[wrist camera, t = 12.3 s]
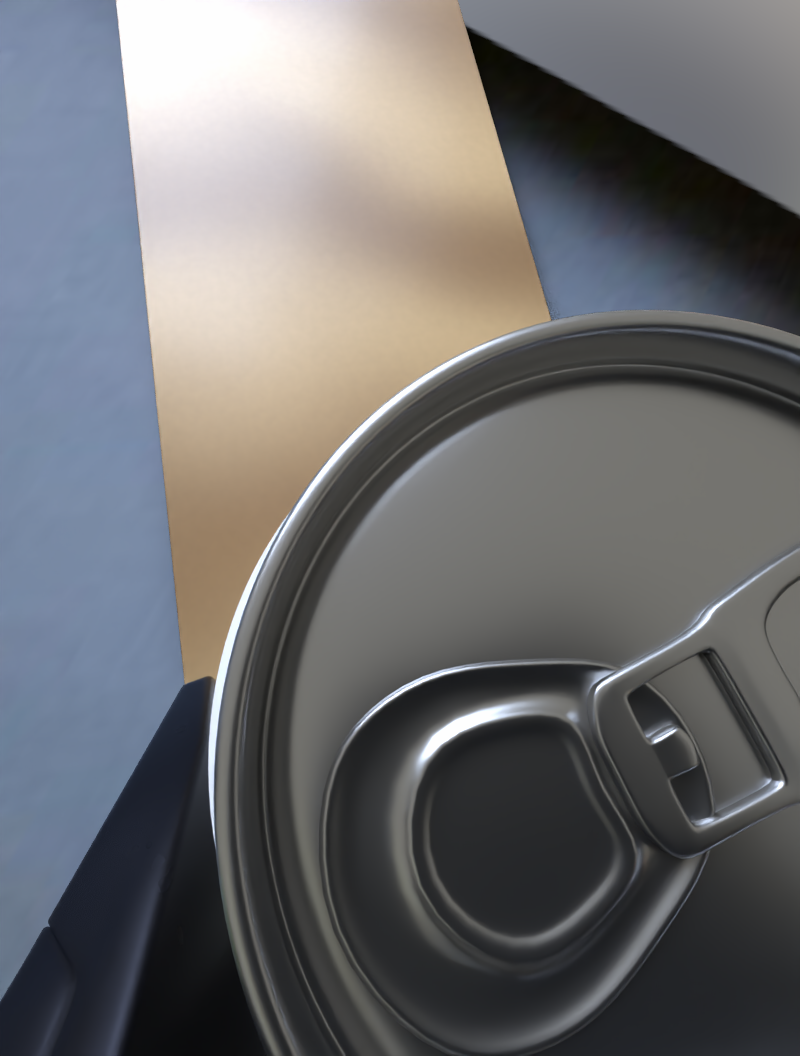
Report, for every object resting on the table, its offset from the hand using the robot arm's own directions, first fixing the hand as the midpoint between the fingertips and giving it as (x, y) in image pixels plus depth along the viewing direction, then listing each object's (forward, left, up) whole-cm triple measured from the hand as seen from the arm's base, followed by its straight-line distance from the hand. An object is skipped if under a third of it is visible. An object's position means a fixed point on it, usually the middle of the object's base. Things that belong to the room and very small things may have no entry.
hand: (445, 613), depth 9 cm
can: (-1, +1, -6) cm, 7 cm away
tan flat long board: (+7, -11, -7) cm, 15 cm away
